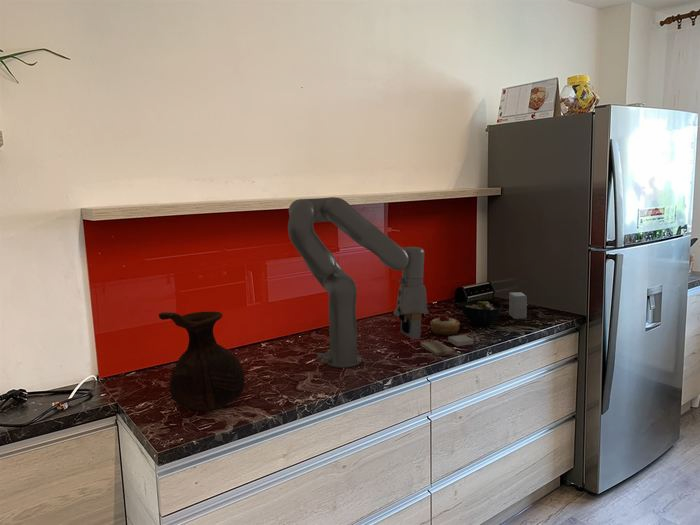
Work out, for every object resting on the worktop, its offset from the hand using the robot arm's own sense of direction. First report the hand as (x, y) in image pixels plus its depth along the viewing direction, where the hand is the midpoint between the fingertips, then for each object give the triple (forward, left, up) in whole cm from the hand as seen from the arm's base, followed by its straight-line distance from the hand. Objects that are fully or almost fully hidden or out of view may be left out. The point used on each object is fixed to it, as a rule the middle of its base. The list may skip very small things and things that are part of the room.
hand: (410, 331), depth 191 cm
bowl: (+45, +24, -9) cm, 52 cm away
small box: (+66, +27, -9) cm, 72 cm away
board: (+11, +1, -9) cm, 14 cm away
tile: (+20, +5, -8) cm, 22 cm away
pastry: (+25, +20, -9) cm, 33 cm away
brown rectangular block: (0, 0, -1) cm, 1 cm away
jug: (-73, -14, -9) cm, 75 cm away
